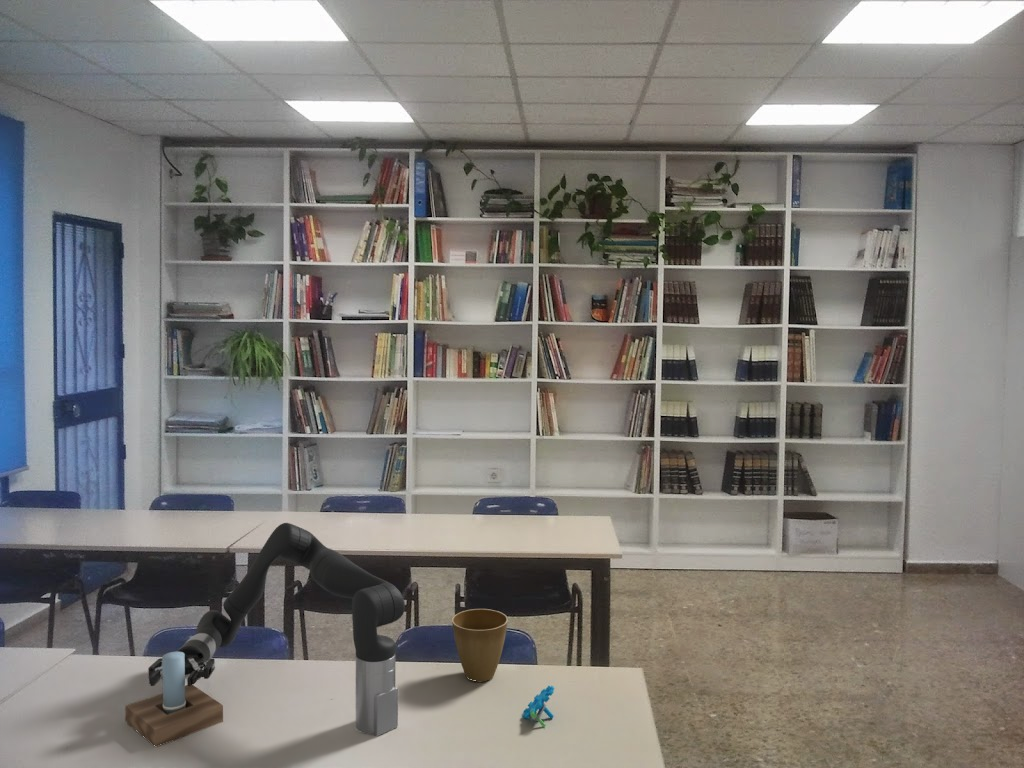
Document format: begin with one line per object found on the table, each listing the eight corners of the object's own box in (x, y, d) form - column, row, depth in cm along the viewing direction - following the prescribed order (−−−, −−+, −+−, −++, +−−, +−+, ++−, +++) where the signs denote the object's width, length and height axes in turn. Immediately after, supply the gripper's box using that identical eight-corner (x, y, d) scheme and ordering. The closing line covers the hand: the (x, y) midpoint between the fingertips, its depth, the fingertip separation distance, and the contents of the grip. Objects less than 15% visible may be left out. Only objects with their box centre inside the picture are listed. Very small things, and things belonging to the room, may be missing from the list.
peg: (189, 721, 191) (188, 655, 190) (168, 729, 187) (167, 662, 186) (180, 714, 195) (179, 649, 193) (159, 721, 191) (158, 655, 190)
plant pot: (457, 662, 226) (458, 607, 225) (510, 666, 224) (511, 610, 223) (445, 686, 211) (446, 627, 210) (502, 691, 209) (503, 631, 208)
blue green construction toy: (528, 697, 202) (555, 676, 198) (544, 715, 202) (571, 695, 198) (513, 724, 192) (541, 702, 188) (531, 742, 192) (559, 721, 188)
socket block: (223, 721, 191) (222, 705, 191) (155, 747, 180) (155, 729, 179) (191, 699, 202) (191, 683, 202) (125, 722, 190) (125, 705, 190)
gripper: (167, 638, 204) (139, 666, 188) (224, 639, 204) (201, 666, 188) (167, 667, 204) (139, 697, 188) (224, 667, 205) (201, 697, 189)
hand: (170, 682), depth 188 cm, fingers open, 8 cm apart
